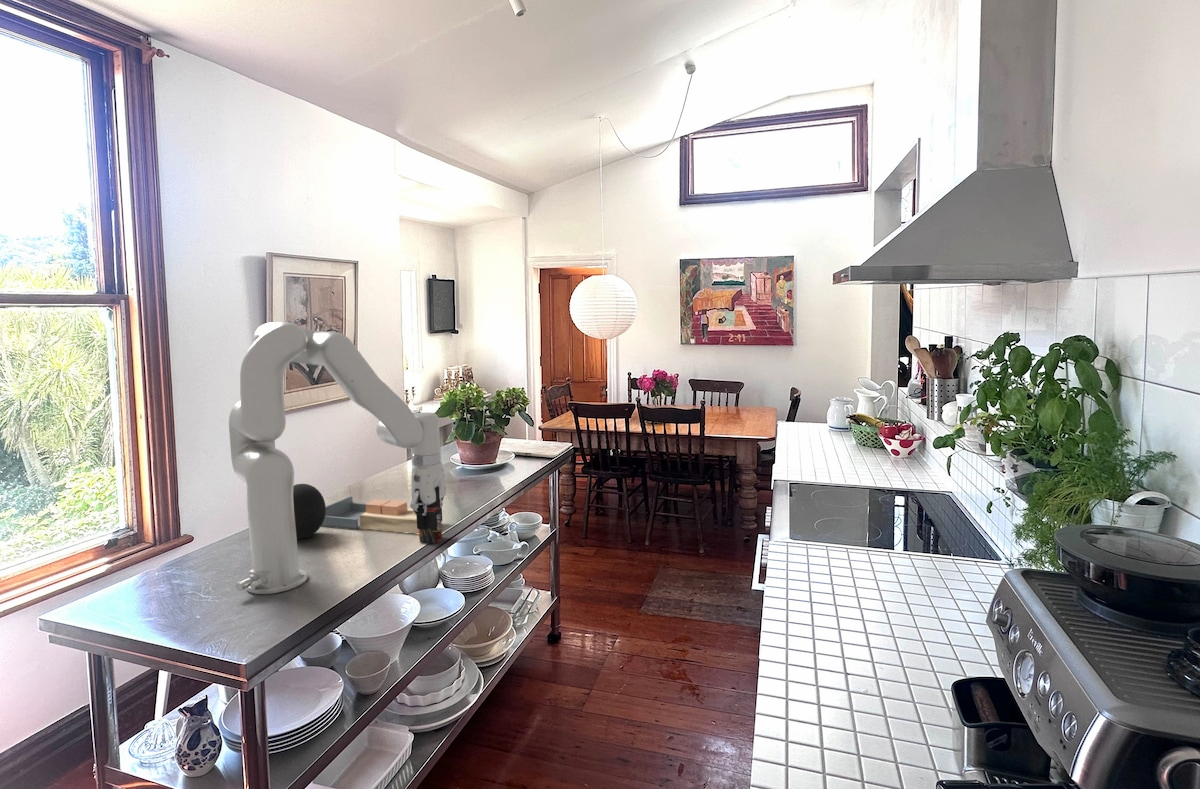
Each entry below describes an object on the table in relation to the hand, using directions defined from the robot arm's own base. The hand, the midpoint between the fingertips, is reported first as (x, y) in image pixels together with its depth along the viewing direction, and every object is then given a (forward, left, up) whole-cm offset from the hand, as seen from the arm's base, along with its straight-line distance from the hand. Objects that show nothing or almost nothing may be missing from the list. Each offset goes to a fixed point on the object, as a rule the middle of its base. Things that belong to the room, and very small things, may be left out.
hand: (430, 524), depth 177 cm
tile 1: (+8, +22, 0) cm, 24 cm away
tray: (+9, +32, -4) cm, 34 cm away
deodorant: (0, 0, -5) cm, 5 cm away
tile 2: (+8, +17, 0) cm, 19 cm away
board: (+8, +15, -4) cm, 18 cm away
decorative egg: (-7, +36, -5) cm, 37 cm away
